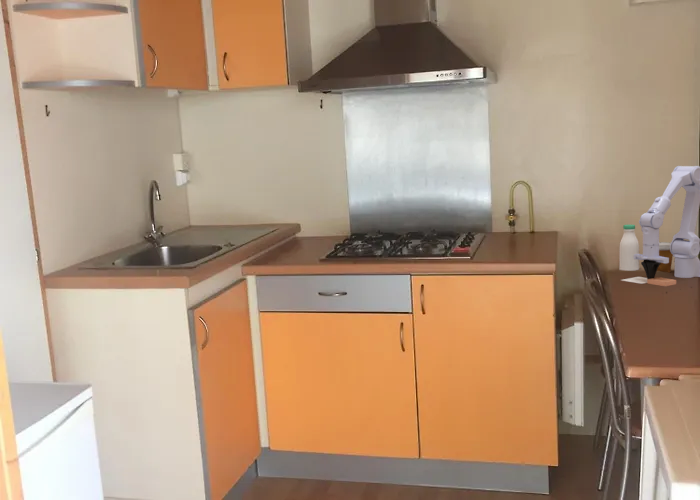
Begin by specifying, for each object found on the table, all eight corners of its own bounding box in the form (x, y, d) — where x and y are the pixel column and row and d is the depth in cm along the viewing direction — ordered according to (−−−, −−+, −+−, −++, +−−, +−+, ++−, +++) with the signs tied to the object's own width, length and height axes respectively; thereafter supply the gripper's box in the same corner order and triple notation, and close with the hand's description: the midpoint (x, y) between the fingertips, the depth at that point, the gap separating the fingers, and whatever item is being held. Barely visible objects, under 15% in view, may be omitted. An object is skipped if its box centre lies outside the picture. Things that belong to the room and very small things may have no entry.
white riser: (638, 280, 296) (638, 276, 296) (659, 283, 287) (659, 280, 287) (620, 283, 291) (620, 280, 291) (641, 287, 282) (641, 283, 282)
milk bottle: (640, 274, 309) (640, 225, 306) (620, 274, 310) (620, 226, 307) (637, 270, 316) (637, 223, 313) (618, 271, 318) (618, 224, 315)
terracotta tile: (658, 283, 285) (658, 277, 285) (676, 286, 278) (676, 280, 278) (647, 285, 282) (647, 279, 282) (665, 288, 275) (665, 282, 275)
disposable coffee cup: (670, 270, 314) (670, 241, 312) (677, 274, 304) (678, 244, 303) (646, 270, 315) (646, 242, 313) (653, 274, 305) (653, 245, 304)
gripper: (628, 243, 287) (628, 278, 289) (659, 247, 274) (659, 284, 276) (640, 241, 290) (640, 276, 292) (672, 245, 277) (672, 281, 279)
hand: (650, 280), depth 284 cm, fingers closed
